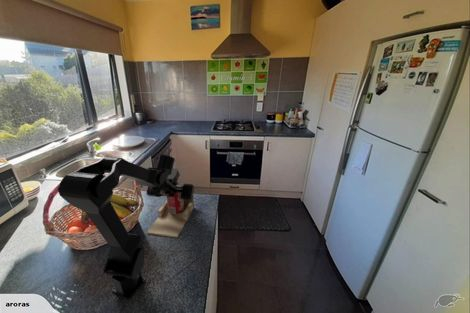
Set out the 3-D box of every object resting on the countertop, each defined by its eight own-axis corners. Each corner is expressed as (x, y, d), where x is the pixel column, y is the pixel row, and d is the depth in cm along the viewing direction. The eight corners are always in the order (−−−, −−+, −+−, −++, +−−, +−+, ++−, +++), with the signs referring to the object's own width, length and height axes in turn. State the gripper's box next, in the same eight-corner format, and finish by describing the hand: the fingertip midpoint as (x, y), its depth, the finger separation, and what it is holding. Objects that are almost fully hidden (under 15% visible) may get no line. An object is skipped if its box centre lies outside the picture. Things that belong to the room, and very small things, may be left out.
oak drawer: (177, 237, 76) (176, 223, 74) (147, 233, 78) (144, 219, 75) (193, 207, 94) (193, 195, 91) (168, 204, 95) (167, 192, 93)
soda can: (184, 205, 94) (182, 182, 90) (184, 214, 88) (183, 191, 83) (168, 207, 92) (166, 184, 88) (168, 216, 86) (165, 193, 82)
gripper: (191, 167, 77) (201, 179, 91) (146, 163, 79) (162, 175, 93) (185, 196, 73) (196, 203, 87) (137, 191, 75) (156, 199, 89)
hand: (177, 194), depth 89 cm, fingers open, 9 cm apart
